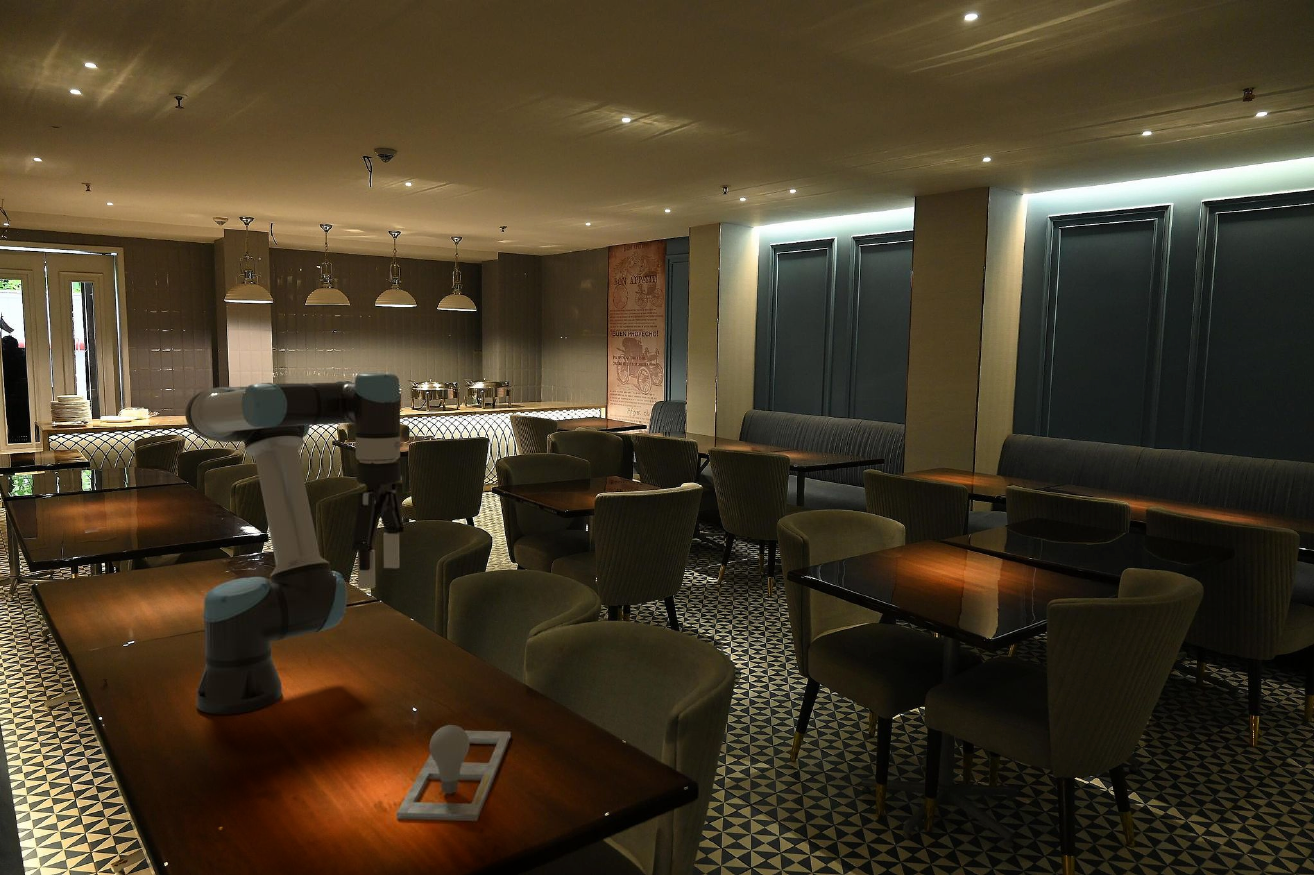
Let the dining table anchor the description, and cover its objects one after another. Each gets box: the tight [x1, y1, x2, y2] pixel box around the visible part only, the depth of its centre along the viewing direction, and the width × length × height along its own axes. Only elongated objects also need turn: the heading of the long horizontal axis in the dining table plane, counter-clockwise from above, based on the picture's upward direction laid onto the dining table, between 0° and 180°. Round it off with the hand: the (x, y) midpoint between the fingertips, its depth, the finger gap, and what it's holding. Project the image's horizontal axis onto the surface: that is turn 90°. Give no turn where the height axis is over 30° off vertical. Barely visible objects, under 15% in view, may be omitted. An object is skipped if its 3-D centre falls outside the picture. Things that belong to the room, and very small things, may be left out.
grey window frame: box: [396, 730, 511, 822], centre depth 142 cm, size 12×28×1 cm, turn 0°
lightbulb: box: [429, 724, 470, 795], centre depth 135 cm, size 6×6×11 cm
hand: (379, 577), depth 155 cm, fingers open, 13 cm apart
